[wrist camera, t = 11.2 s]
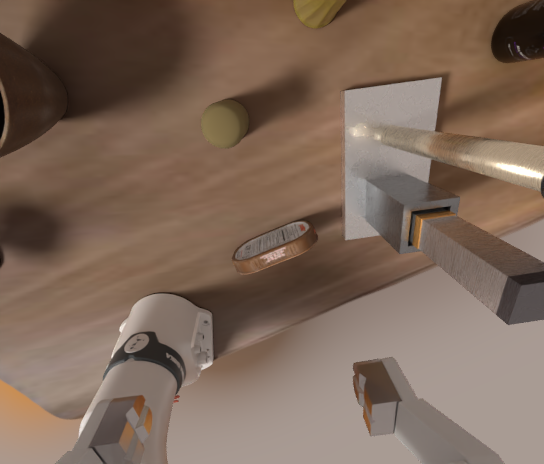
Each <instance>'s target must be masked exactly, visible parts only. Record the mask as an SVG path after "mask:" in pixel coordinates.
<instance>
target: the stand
mask: <svg viewBox="0 0 544 464" xmlns="http://www.w3.org/2000/svg"><path fill="white" fill-rule="evenodd" d="M441 81H442V77H440V78H433V79H426V80H419V81H411V82H404V83H397V84H390V85H382V86H375V87H368V88H361V89H353V90H346V91H340V100H341V187H342V236H343V237H344V239H345V240H350V239H357V238H364V237H371V236H378V235H381V236H382V237H383V238H384V239H385V240H386V241H387V242H388V243H389V244H390V245H391V246H392V247H393V248H394V249H395V250H396V251H397V252H398V253H399V254H404V253H410V252H417V251H421V250H420V249H417V248H416V247H414V246H413V245H412V243H411V242H410V241H409V240H408V238H409V229H410V220H411V212H412V211H419V210H426V209H433V208H440V207H441V208H443V209H445V210H447V211H448V210H449V211H451V212H453V213H455V214H456V216H457V212H458V206H459V201H460V197H459V196H456V195H454V194H452V193H450V192H447V191H445V190H443V189H440V188H438V187H436V186H434V185H431V184H429V183H428V180H429V172H430V165H431V159H432V160H436V161H439V162H442V163H446V164H449V165H452V166H456V167H459V168H463V169H466V170H469V171H473V172H476V173H479V174H483V175H486V176H489V177H493V178H496V179H500V180H503V181H506V182H510V183H513V184H516V185H520V186H523V187H526V188H530V189H533V190H537V191H540V192H541V194H542V196H543V198H544V146H538V145H531V144H524V143H517V142H509V141H502V140H495V139H488V138H481V137H473V136H466V135H459V134H452V133H445V132H437V131H435V127H436V119H437V112H438V104H439V96H440V89H441Z"/></svg>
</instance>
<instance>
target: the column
mask: <svg viewBox="0 0 544 464" xmlns="http://www.w3.org/2000/svg"><path fill="white" fill-rule="evenodd" d="M408 240H409V241H410V242H411V243H412V245H413V246H414V247H416V248H417V249H420V250H421V251H422V252H423V253H424V254H426V255H427V256H428V257H429V258H430V259H431V260H433V261H434V262H435V263H436V264H437V265H438V266H440V267H441V268H442V269H443V270H444V271H445V272H447V273H448V274H449V275H450V276H451V277H452V278H454V279H455V280H456V281H457V282H458V283H460V284H461V285H462V286H463V287H464V288H465V289H467V290H468V291H469V292H470V293H471V294H473V295H474V296H475V297H476V298H477V299H478V300H479V301H481V302H482V303H483V304H484V305H485V306H487V307H488V308H489V309H490V310H491V311H492V312H494V313H495V314H496V315H497V316H498V317H499V318H501V319H502V320H503V321H504V322H505V323H506V324H508V325H510V324H516V323H523V322H530V321H537V320H544V262H542V261H540V260H538V259H536V258H535V257H533V256H531V255H529V254H527V253H525V252H523V251H522V250H520V249H518V248H516V247H514V246H512V245H510V244H508V243H507V242H505V241H503V240H501V239H499V238H497V237H495V236H494V235H492V234H490V233H488V232H486V231H484V230H482V229H480V228H479V227H477V226H475V225H473V224H471V223H469V222H467V221H466V220H464V219H462V218H460V217H458V216H456V214H455V213H453V212H451V211H449V210H448V211H447V210H445V209H443V208H441V207H440V208H433V209H426V210H419V211H412V212H411V220H410V229H409V238H408Z"/></svg>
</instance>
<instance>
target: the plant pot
mask: <svg viewBox="0 0 544 464" xmlns="http://www.w3.org/2000/svg"><path fill="white" fill-rule="evenodd" d="M67 107H68V96H67V92H66V89H65V87H64V85H63V83H62V82H61V80H60V79H59V78H58V76H57V75H56V74H55V73H54V72H53V71H51V70H50V69H49V68H48V67H47V66H46V65H45V64H43V63H42V62H41V61H40V60H39V59H37V58H36V57H35V56H33V55H32V54H31V53H29V52H28V51H27V50H25V49H24V48H22V47H21V46H19V45H18V44H17V43H15V42H14V41H12V40H11V39H9V38H7V37H6V36H4V35H3V34H1V33H0V157H2V156H5V155H7V154H9V153H11V152H14V151H16V150H18V149H20V148H22V147H24V146H25V145H27V144H29V143H31V142H32V141H34V140H36V139H37V138H39V137H40V136H41V135H43V134H44V133H46V132H47V131H48V130H49V129H51V128H52V127H53V126H54V125H55V124H56V123H57V122H58V121H59V120H60V119H61V118H62V116H63V115H64V114H65V112H66V110H67Z"/></svg>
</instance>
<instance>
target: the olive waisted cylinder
mask: <svg viewBox="0 0 544 464" xmlns="http://www.w3.org/2000/svg"><path fill="white" fill-rule="evenodd" d="M248 127H249V117H248V114H247V111H246V110H245V108H244V107H243V106H242V105H241V104H240V103H238V102H237V101H234V100H229V99H225V100H222V101H219V102H216V103H213V104H211V105H210V106H209V107H207V108H206V110H205V111H204V113H203V115H202V119H201V128H202V132H203V134H204V136H205V138H206V139H207V140H208V142H210V143H211V144H212V145H214V146H216V147H219V148H230V147H234V146H235V145H236V144H238V143H239V142H240V141H241V139H242V138H243V137H244V136H245V134H246V133H247V131H248Z"/></svg>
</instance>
